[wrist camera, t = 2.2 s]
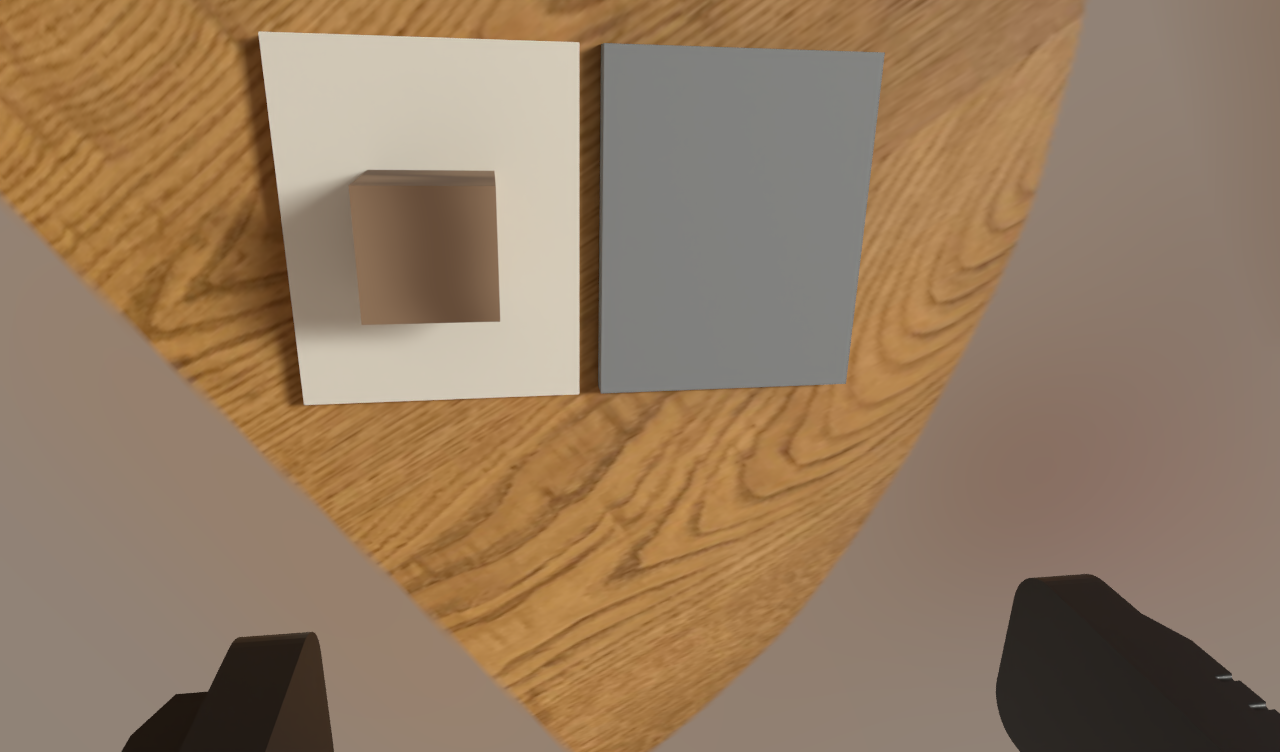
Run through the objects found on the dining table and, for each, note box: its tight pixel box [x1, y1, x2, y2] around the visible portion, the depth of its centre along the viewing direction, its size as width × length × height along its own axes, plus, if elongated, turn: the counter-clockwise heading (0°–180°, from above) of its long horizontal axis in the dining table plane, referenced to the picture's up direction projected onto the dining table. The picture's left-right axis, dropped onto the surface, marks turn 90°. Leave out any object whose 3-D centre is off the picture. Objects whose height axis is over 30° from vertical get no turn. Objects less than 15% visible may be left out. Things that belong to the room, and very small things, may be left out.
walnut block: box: [348, 170, 500, 325], centre depth 32 cm, size 5×5×5 cm
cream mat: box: [258, 32, 579, 405], centre depth 35 cm, size 12×15×1 cm
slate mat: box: [598, 43, 885, 393], centre depth 37 cm, size 12×15×1 cm
